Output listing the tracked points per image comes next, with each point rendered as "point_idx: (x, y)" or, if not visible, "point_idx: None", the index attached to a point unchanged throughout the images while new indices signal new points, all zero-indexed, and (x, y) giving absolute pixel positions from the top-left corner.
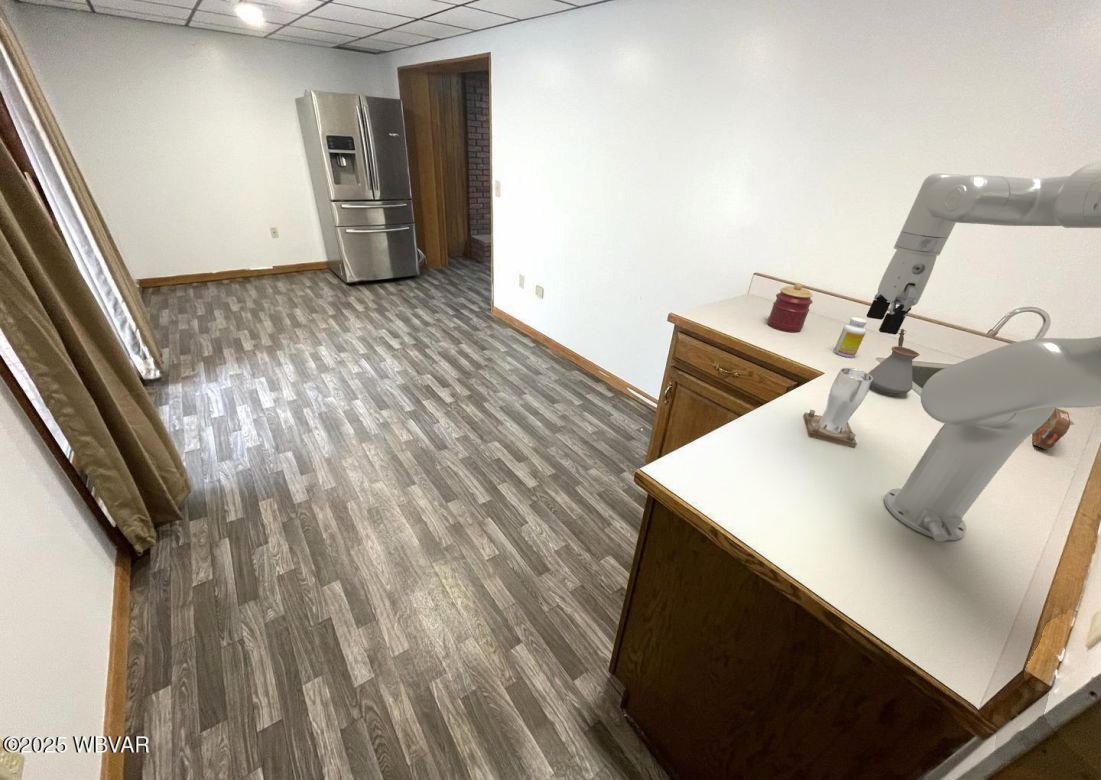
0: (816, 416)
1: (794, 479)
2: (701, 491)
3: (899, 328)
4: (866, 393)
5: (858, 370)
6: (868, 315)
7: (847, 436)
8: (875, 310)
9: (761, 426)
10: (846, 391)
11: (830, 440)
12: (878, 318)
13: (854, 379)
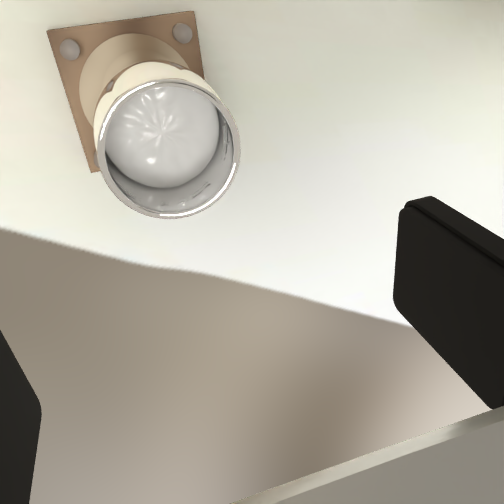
0: (92, 138)
1: (408, 158)
2: None
3: (462, 216)
4: (187, 69)
5: (104, 143)
6: (40, 422)
7: (165, 40)
8: (14, 450)
9: (233, 250)
10: (224, 149)
11: None
12: (2, 342)
13: (238, 160)
